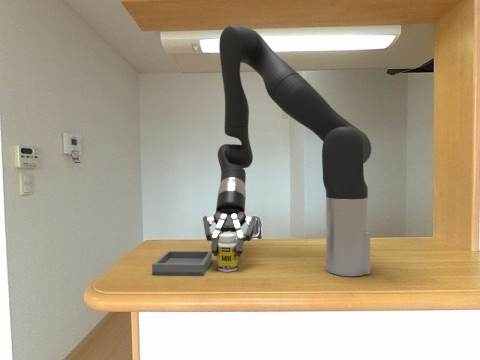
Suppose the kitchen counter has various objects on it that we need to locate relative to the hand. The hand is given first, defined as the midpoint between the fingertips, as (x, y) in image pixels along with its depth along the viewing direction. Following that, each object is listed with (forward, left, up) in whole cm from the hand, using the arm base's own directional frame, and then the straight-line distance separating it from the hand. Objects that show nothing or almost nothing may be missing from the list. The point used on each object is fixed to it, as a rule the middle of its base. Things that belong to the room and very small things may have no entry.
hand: (226, 254), depth 79 cm
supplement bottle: (0, -2, -4) cm, 5 cm away
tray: (+11, -3, -4) cm, 12 cm away
